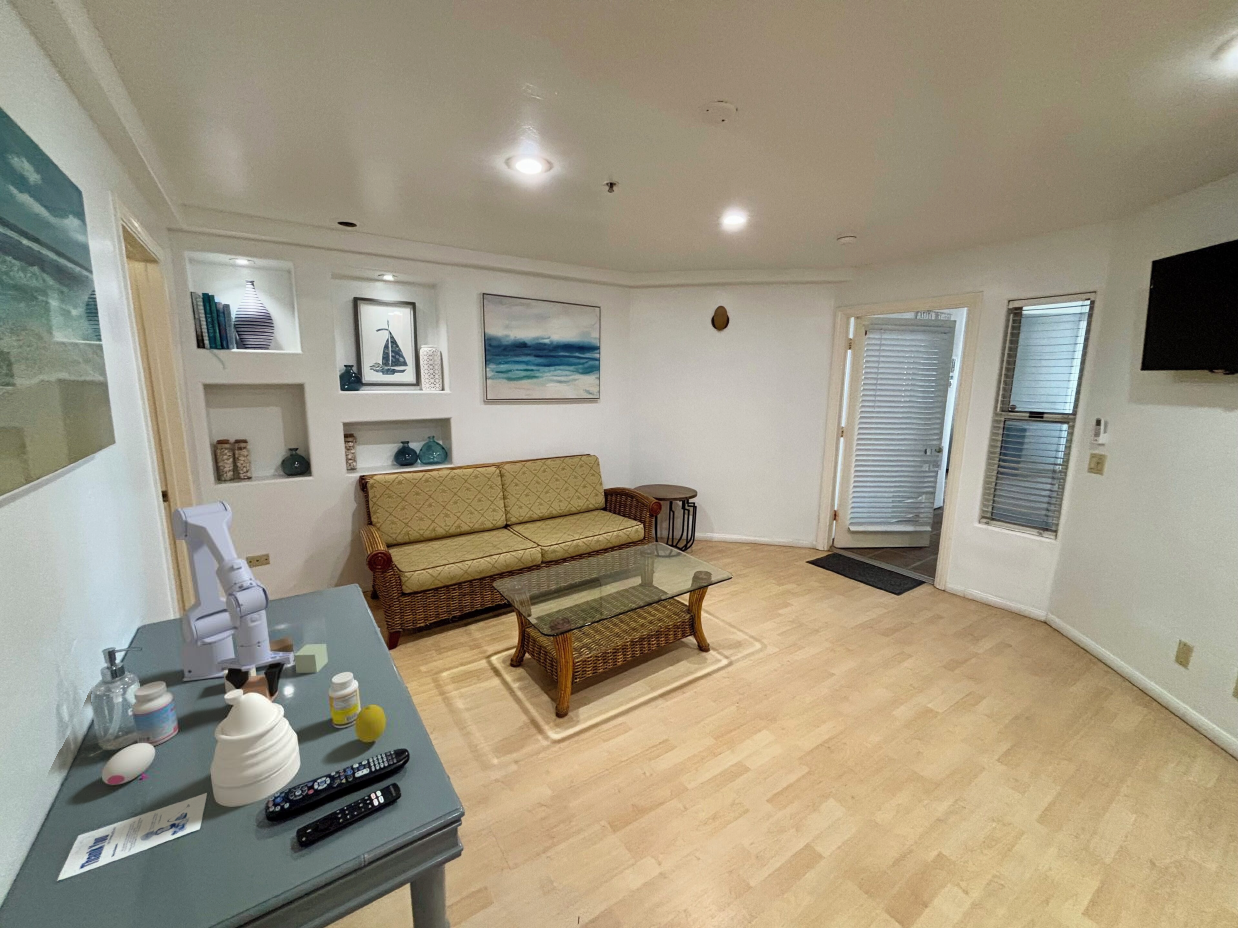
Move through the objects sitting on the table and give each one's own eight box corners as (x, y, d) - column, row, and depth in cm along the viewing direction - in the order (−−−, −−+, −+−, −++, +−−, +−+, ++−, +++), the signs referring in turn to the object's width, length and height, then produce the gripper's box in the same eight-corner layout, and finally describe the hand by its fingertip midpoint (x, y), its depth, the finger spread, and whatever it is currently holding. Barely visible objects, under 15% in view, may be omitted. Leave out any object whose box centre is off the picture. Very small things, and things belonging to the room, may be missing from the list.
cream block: (226, 692, 114) (223, 673, 113) (231, 681, 118) (228, 662, 117) (252, 686, 116) (249, 667, 115) (256, 675, 120) (254, 657, 120)
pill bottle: (184, 732, 101) (176, 683, 99) (147, 752, 95) (137, 700, 93) (169, 724, 103) (161, 675, 101) (131, 742, 98) (122, 692, 96)
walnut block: (271, 668, 123) (269, 650, 123) (268, 660, 127) (266, 643, 126) (294, 661, 127) (292, 643, 126) (291, 653, 130) (289, 636, 130)
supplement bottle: (340, 712, 107) (336, 669, 105) (366, 711, 107) (362, 668, 105) (326, 729, 101) (321, 685, 100) (353, 729, 102) (349, 684, 100)
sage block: (296, 673, 121) (294, 655, 121) (308, 662, 126) (306, 644, 126) (317, 672, 122) (314, 654, 121) (328, 661, 127) (325, 643, 126)
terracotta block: (242, 709, 107) (239, 689, 106) (253, 695, 112) (251, 676, 111) (268, 706, 108) (265, 686, 108) (278, 692, 113) (275, 673, 112)
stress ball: (144, 776, 93) (122, 749, 93) (174, 756, 93) (152, 729, 92) (101, 809, 86) (76, 780, 85) (132, 787, 85) (108, 757, 85)
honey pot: (232, 819, 81) (217, 721, 78) (201, 785, 87) (187, 695, 84) (313, 767, 91) (303, 680, 88) (281, 741, 98) (270, 659, 95)
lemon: (356, 755, 94) (352, 718, 93) (356, 737, 99) (353, 701, 98) (387, 745, 97) (384, 709, 96) (386, 728, 102) (383, 693, 100)
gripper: (204, 653, 102) (212, 711, 104) (281, 645, 105) (288, 701, 108) (222, 636, 109) (230, 691, 111) (295, 629, 112) (301, 683, 114)
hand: (260, 695), depth 110 cm, fingers closed on terracotta block, 5 cm apart
